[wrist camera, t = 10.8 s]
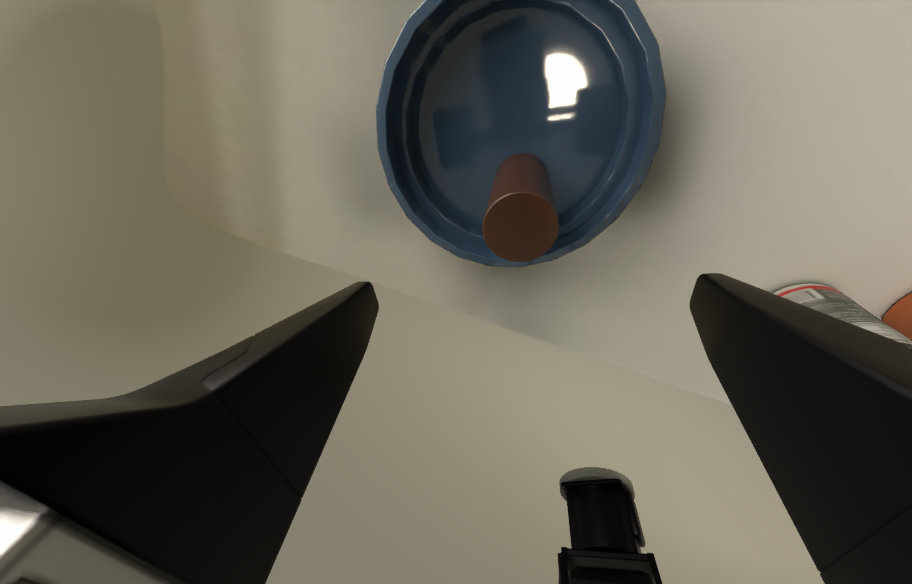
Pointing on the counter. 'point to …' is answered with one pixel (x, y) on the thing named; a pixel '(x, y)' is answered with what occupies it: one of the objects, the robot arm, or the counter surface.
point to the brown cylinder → (521, 210)
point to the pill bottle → (839, 308)
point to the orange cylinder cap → (901, 316)
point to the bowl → (519, 113)
